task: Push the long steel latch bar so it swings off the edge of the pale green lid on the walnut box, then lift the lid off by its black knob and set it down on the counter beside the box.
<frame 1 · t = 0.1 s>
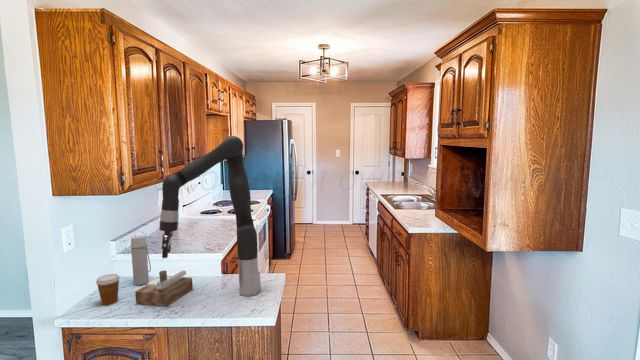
hand: (166, 255, 163), 22 cm above the counter, tool pointing down, fingers open, 8 cm apart
disposable coffee cup: (109, 302, 167), on the counter
lid: (163, 283, 172), point 6 cm above the counter, touching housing
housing: (165, 296, 172), on the counter
latch bar: (172, 278, 170), point 9 cm above the counter, hinge at 0.0°
water bottle: (143, 283, 191), on the counter
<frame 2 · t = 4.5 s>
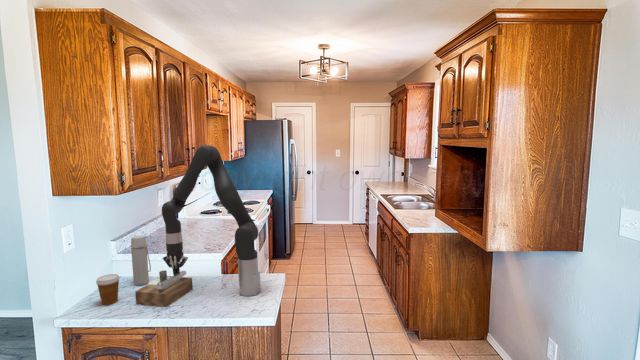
hand: (176, 275, 177), 8 cm above the counter, tool pointing down, fingers closed
latch bar: (172, 278, 170), point 9 cm above the counter, hinge at -0.3°, touching gripper
everything else where it was.
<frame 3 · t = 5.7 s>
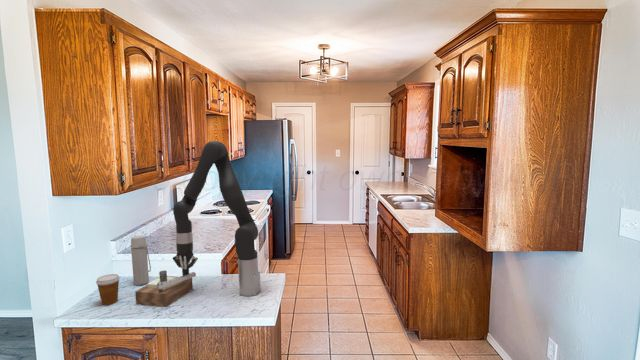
hand: (185, 275, 176), 8 cm above the counter, tool pointing down, fingers closed
latch bar: (176, 279, 169), point 9 cm above the counter, hinge at -21.1°, touching gripper
everything else where it was.
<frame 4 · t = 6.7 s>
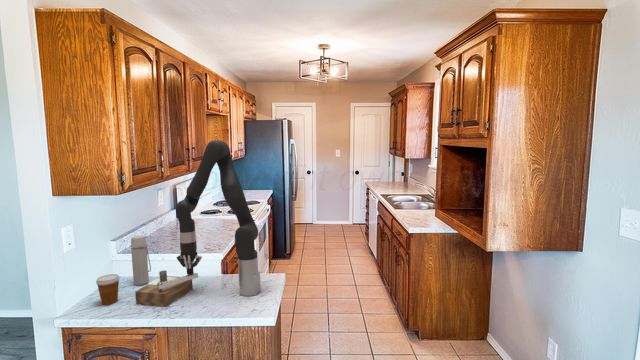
hand: (190, 275, 175), 9 cm above the counter, tool pointing down, fingers closed
latch bar: (177, 280, 168), point 9 cm above the counter, hinge at -27.8°, touching gripper
everything else where it was.
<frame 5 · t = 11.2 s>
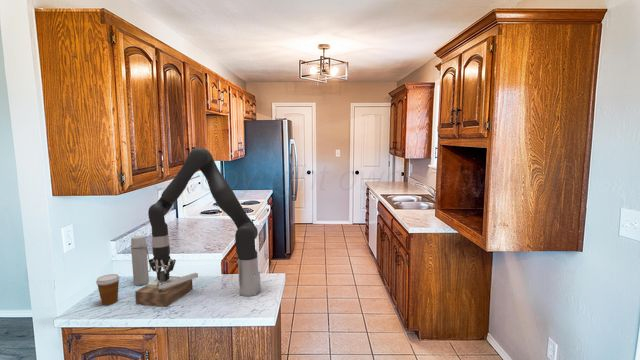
hand: (163, 279, 172), 8 cm above the counter, tool pointing down, fingers closed on lid, 3 cm apart
lid: (163, 283, 172), point 6 cm above the counter, touching gripper, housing
latch bar: (177, 280, 168), point 9 cm above the counter, hinge at -27.8°
everything else where it was.
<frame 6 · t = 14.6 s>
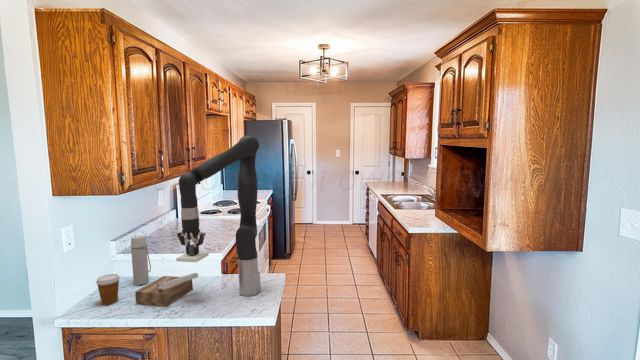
hand: (192, 254, 164), 22 cm above the counter, tool pointing down, fingers closed on lid, 3 cm apart
lid: (192, 258, 164), point 20 cm above the counter, touching gripper
everything else where it was.
when the fingers open (4 cm above the counter, at t = 18.3 s): lid drops 2 cm, on the counter.
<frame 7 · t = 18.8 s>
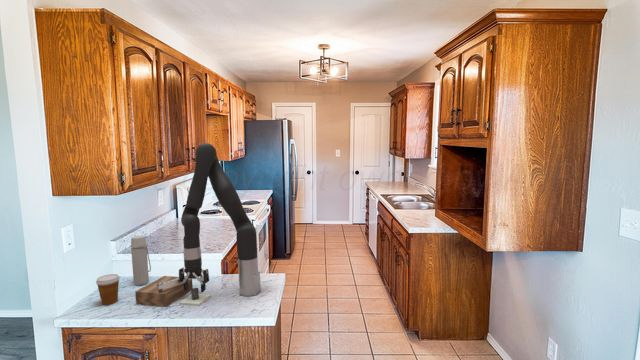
hand: (194, 290, 166), 5 cm above the counter, tool pointing down, fingers open, 8 cm apart
lid: (195, 301, 166), on the counter
everything else where it was.
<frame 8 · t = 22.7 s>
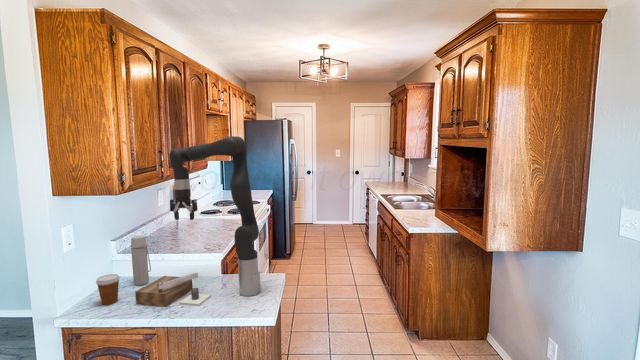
hand: (184, 219, 183), 34 cm above the counter, tool pointing down, fingers open, 8 cm apart
nothing on the counter moved.
at the end: latch bar at -28° (first picture: +0°); lid inside the target area (0.0 cm from its centre), on the counter; lid tilted 0° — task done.
